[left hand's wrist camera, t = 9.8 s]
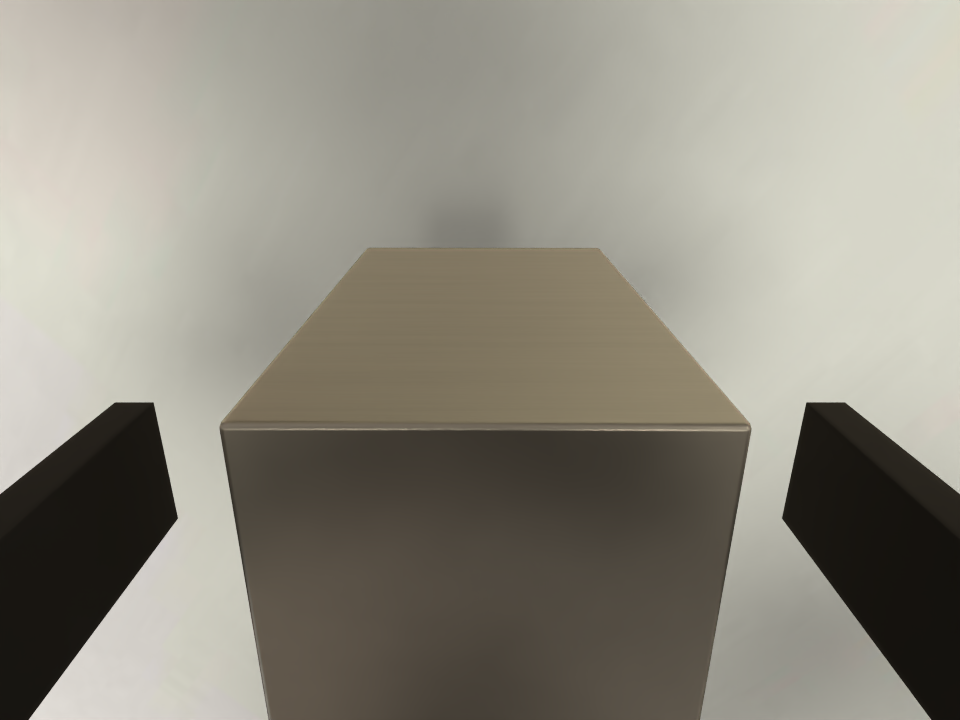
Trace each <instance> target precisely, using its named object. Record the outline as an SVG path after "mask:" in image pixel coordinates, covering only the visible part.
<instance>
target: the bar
mask: <svg viewBox="0 0 960 720" xmlns="http://www.w3.org/2000/svg"><path fill="white" fill-rule="evenodd" d="M220 434H221V440H222V446H223V452H224V458H225V464H226V470H227V475H228V481H229V487H230V493H231V499H232V505H233V511H234V517H235V523H236V529H237V535H238V541H239V547H240V553H241V558H242V564H243V570H244V576H245V582H246V588H247V594H248V600H249V606H250V612H251V618H252V624H253V630H254V636H255V642H256V647H257V653H258V659H259V665H260V671H261V677H262V683H263V689H264V695H265V701H266V707H267V713H268V719H269V720H700V715H701V710H702V704H703V698H704V693H705V687H706V682H707V676H708V670H709V665H710V659H711V654H712V648H713V642H714V637H715V631H716V625H717V620H718V614H719V609H720V603H721V597H722V592H723V586H724V581H725V575H726V569H727V564H728V558H729V552H730V547H731V541H732V536H733V530H734V524H735V519H736V513H737V508H738V502H739V496H740V491H741V485H742V479H743V474H744V468H745V463H746V457H747V451H748V446H749V440H750V435H751V426H750V423H749V422H748V421H747V420H746V418H745V417H744V416H743V415H742V414H741V413H740V411H739V410H738V409H737V408H736V407H735V406H734V405H733V403H732V402H731V401H730V400H729V399H728V398H727V396H726V395H725V394H724V393H723V392H722V391H721V389H720V388H719V387H718V386H717V385H716V384H715V382H714V381H713V380H712V379H711V378H710V377H709V376H708V374H707V373H706V372H705V371H704V370H703V369H702V367H701V366H700V365H699V364H698V363H697V362H696V360H695V359H694V358H693V357H692V356H691V355H690V354H689V352H688V351H687V350H686V349H685V348H684V347H683V345H682V344H681V343H680V342H679V341H678V340H677V338H676V337H675V336H674V335H673V334H672V333H671V331H670V330H669V329H668V328H667V327H666V326H665V325H664V323H663V322H662V321H661V320H660V319H659V318H658V316H657V315H656V314H655V313H654V312H653V311H652V309H651V308H650V307H649V306H648V305H647V304H646V303H645V301H644V300H643V299H642V298H641V297H640V296H639V294H638V293H637V292H636V291H635V290H634V289H633V287H632V286H631V285H630V284H629V283H628V282H627V280H626V279H625V278H624V277H623V276H622V275H621V274H620V272H619V271H618V270H617V269H616V268H615V267H614V265H613V264H612V263H611V262H610V261H609V260H608V258H607V257H606V256H605V255H604V254H603V253H602V252H601V250H600V249H598V248H368V249H366V251H365V252H364V253H363V254H362V255H361V257H360V258H359V259H358V260H357V261H356V262H355V264H354V265H353V266H352V267H351V268H350V270H349V271H348V272H347V273H346V274H345V276H344V277H343V278H342V279H341V280H340V282H339V283H338V284H337V285H336V286H335V287H334V289H333V290H332V291H331V292H330V293H329V295H328V296H327V297H326V298H325V299H324V301H323V302H322V303H321V304H320V305H319V307H318V308H317V309H316V310H315V311H314V312H313V314H312V315H311V316H310V317H309V318H308V320H307V321H306V322H305V323H304V324H303V326H302V327H301V328H300V329H299V330H298V332H297V333H296V334H295V335H294V336H293V337H292V339H291V340H290V341H289V342H288V343H287V345H286V346H285V347H284V348H283V349H282V351H281V352H280V353H279V354H278V355H277V357H276V358H275V359H274V360H273V361H272V362H271V364H270V365H269V366H268V367H267V368H266V370H265V371H264V372H263V373H262V374H261V376H260V377H259V378H258V379H257V380H256V381H255V383H254V384H253V385H252V386H251V387H250V389H249V390H248V391H247V392H246V393H245V395H244V396H243V397H242V398H241V399H240V401H239V402H238V403H237V404H236V405H235V406H234V408H233V409H232V410H231V411H230V412H229V414H228V415H227V416H226V417H225V418H224V420H223V421H222V422H221V424H220Z"/></svg>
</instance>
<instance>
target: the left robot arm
mask: <svg viewBox="0 0 960 720" xmlns="http://www.w3.org/2000/svg"><path fill="white" fill-rule="evenodd" d="M177 519H178V517H177V512H176V507H175V502H174V497H173V493H172V488H171V483H170V478H169V474H168V469H167V464H166V459H165V455H164V450H163V445H162V440H161V436H160V431H159V426H158V421H157V417H156V412H155V407H154V403H114V404H113V405H111V406H110V407H109V408H108V409H106V410H105V411H104V412H103V413H101V414H100V415H99V416H98V417H96V418H95V419H94V420H93V421H91V422H90V423H89V424H88V425H86V426H85V427H84V428H83V429H81V430H80V431H79V432H78V433H76V434H75V435H74V436H73V437H71V438H70V439H69V440H68V441H66V442H65V443H64V444H63V445H61V446H60V447H59V448H58V449H56V450H55V451H54V452H53V453H51V454H50V455H49V456H48V457H46V458H45V459H44V460H43V461H41V462H40V463H39V464H38V465H36V466H35V467H34V468H33V469H31V470H30V471H29V472H28V473H26V474H25V475H24V476H22V477H21V478H20V479H19V480H17V481H16V482H15V483H14V484H12V485H11V486H10V487H9V488H7V489H6V490H5V491H4V492H2V493H1V494H0V720H29V718H30V717H31V716H32V714H33V713H34V712H35V710H36V709H37V708H38V706H39V705H40V704H41V702H42V701H43V700H44V698H45V697H46V696H47V694H48V693H49V691H50V690H51V689H52V687H53V686H54V685H55V683H56V682H57V681H58V679H59V678H60V677H61V675H62V674H63V673H64V671H65V670H66V669H67V667H68V666H69V665H70V663H71V662H72V660H73V659H74V658H75V656H76V655H77V654H78V652H79V651H80V650H81V648H82V647H83V646H84V644H85V643H86V642H87V640H88V639H89V638H90V636H91V635H92V634H93V632H94V631H95V629H96V628H97V627H98V625H99V624H100V623H101V621H102V620H103V619H104V617H105V616H106V615H107V613H108V612H109V611H110V609H111V608H112V607H113V605H114V604H115V603H116V601H117V600H118V598H119V597H120V596H121V594H122V593H123V592H124V590H125V589H126V588H127V586H128V585H129V584H130V582H131V581H132V580H133V578H134V577H135V576H136V574H137V573H138V572H139V570H140V569H141V567H142V566H143V565H144V563H145V562H146V561H147V559H148V558H149V557H150V555H151V554H152V553H153V551H154V550H155V549H156V547H157V546H158V545H159V543H160V542H161V541H162V539H163V538H164V536H165V535H166V534H167V532H168V531H169V530H170V528H171V527H172V526H173V524H174V523H175V522H176V520H177ZM782 519H783V520H784V522H785V523H786V524H787V526H788V527H789V528H790V530H791V531H792V532H793V534H794V535H795V536H796V538H797V539H798V541H799V542H800V543H801V545H802V546H803V547H804V549H805V550H806V551H807V553H808V554H809V555H810V557H811V558H812V559H813V561H814V562H815V563H816V565H817V566H818V567H819V569H820V570H821V572H822V573H823V574H824V576H825V577H826V578H827V580H828V581H829V582H830V584H831V585H832V586H833V588H834V589H835V590H836V592H837V593H838V594H839V596H840V597H841V598H842V600H843V601H844V603H845V604H846V605H847V607H848V608H849V609H850V611H851V612H852V613H853V615H854V616H855V617H856V619H857V620H858V621H859V623H860V624H861V625H862V627H863V628H864V629H865V631H866V632H867V634H868V635H869V636H870V638H871V639H872V640H873V642H874V643H875V644H876V646H877V647H878V648H879V650H880V651H881V652H882V654H883V655H884V656H885V658H886V659H887V660H888V662H889V663H890V665H891V666H892V667H893V669H894V670H895V671H896V673H897V674H898V675H899V677H900V678H901V679H902V681H903V682H904V683H905V685H906V686H907V687H908V689H909V690H910V691H911V693H912V694H913V696H914V697H915V698H916V700H917V701H918V702H919V704H920V705H921V706H922V708H923V709H924V710H925V712H926V713H927V714H928V716H929V717H930V718H931V720H960V494H959V493H958V492H956V491H955V490H954V489H953V488H951V487H950V486H949V485H948V484H946V483H945V482H944V481H943V480H941V479H940V478H939V477H938V476H936V475H935V474H934V473H932V472H931V471H930V470H929V469H927V468H926V467H925V466H924V465H922V464H921V463H920V462H919V461H917V460H916V459H915V458H914V457H912V456H911V455H910V454H909V453H907V452H906V451H905V450H904V449H902V448H901V447H900V446H899V445H897V444H896V443H895V442H894V441H892V440H891V439H890V438H889V437H887V436H886V435H885V434H884V433H882V432H881V431H880V430H879V429H877V428H876V427H875V426H874V425H872V424H871V423H870V422H869V421H867V420H866V419H865V418H864V417H862V416H861V415H860V414H859V413H857V412H856V411H855V410H854V409H852V408H851V407H850V406H849V405H847V404H846V403H806V407H805V412H804V417H803V421H802V426H801V431H800V436H799V440H798V445H797V450H796V455H795V459H794V464H793V469H792V474H791V479H790V483H789V488H788V493H787V498H786V502H785V507H784V512H783V517H782Z"/></svg>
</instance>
